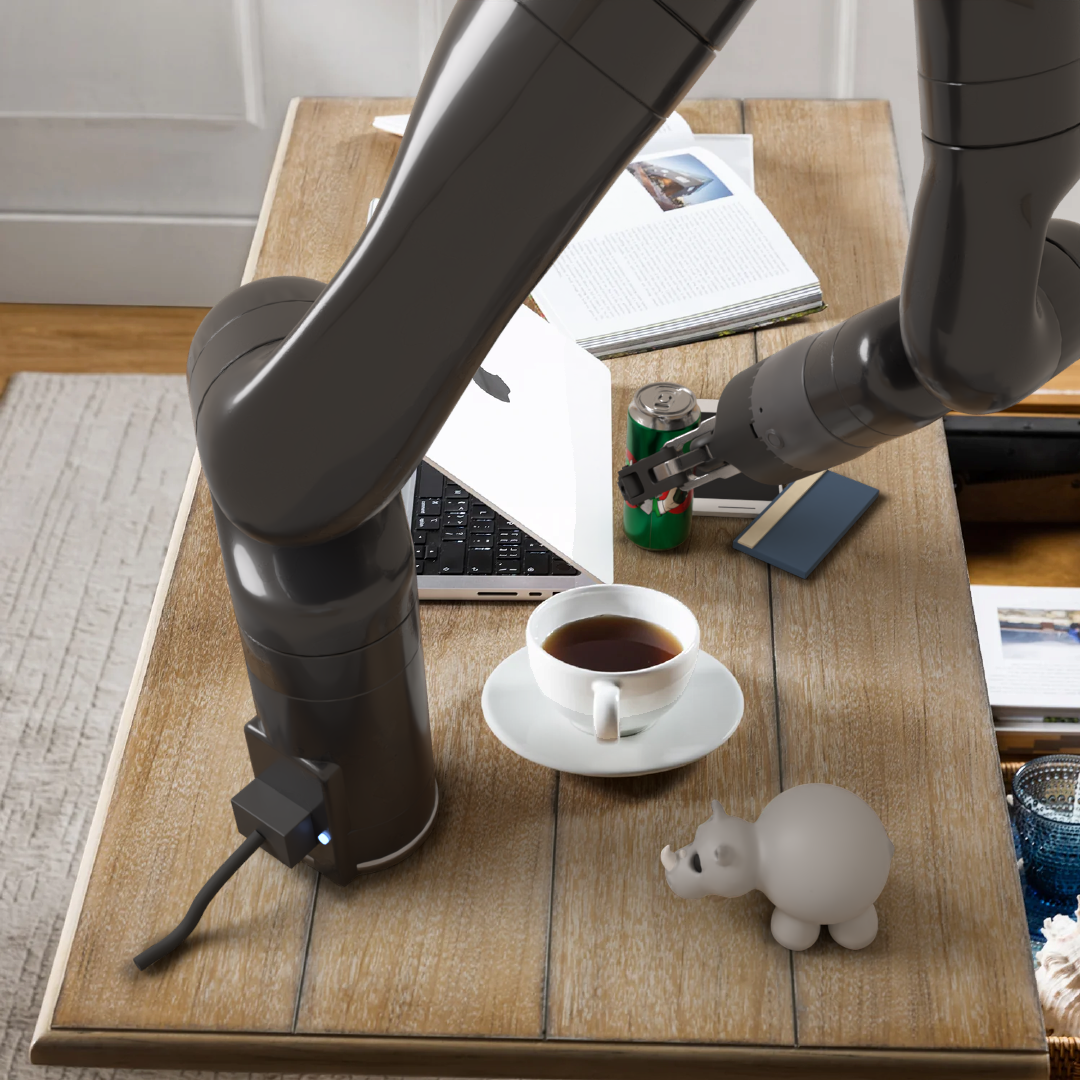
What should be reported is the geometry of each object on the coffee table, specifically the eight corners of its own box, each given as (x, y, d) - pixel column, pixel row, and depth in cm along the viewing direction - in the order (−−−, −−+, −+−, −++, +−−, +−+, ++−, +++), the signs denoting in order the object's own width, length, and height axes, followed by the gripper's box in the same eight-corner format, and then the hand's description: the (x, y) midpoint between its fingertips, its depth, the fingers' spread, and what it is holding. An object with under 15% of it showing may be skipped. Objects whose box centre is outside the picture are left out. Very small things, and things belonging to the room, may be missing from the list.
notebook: (805, 579, 91) (806, 570, 90) (731, 547, 94) (733, 538, 93) (878, 496, 98) (880, 487, 98) (808, 469, 101) (810, 460, 100)
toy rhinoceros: (652, 851, 73) (660, 753, 68) (863, 854, 73) (888, 755, 67) (659, 964, 67) (668, 866, 62) (887, 967, 67) (916, 869, 62)
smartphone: (772, 409, 108) (773, 400, 108) (784, 523, 96) (785, 513, 96) (688, 406, 109) (688, 397, 108) (689, 519, 97) (689, 509, 96)
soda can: (696, 518, 96) (708, 384, 89) (683, 560, 93) (694, 423, 85) (630, 507, 97) (637, 373, 90) (615, 548, 94) (620, 412, 86)
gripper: (872, 314, 77) (732, 388, 92) (688, 385, 71) (570, 453, 86) (921, 427, 77) (773, 483, 92) (741, 508, 71) (614, 554, 86)
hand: (675, 468), depth 89 cm, fingers open, 8 cm apart
